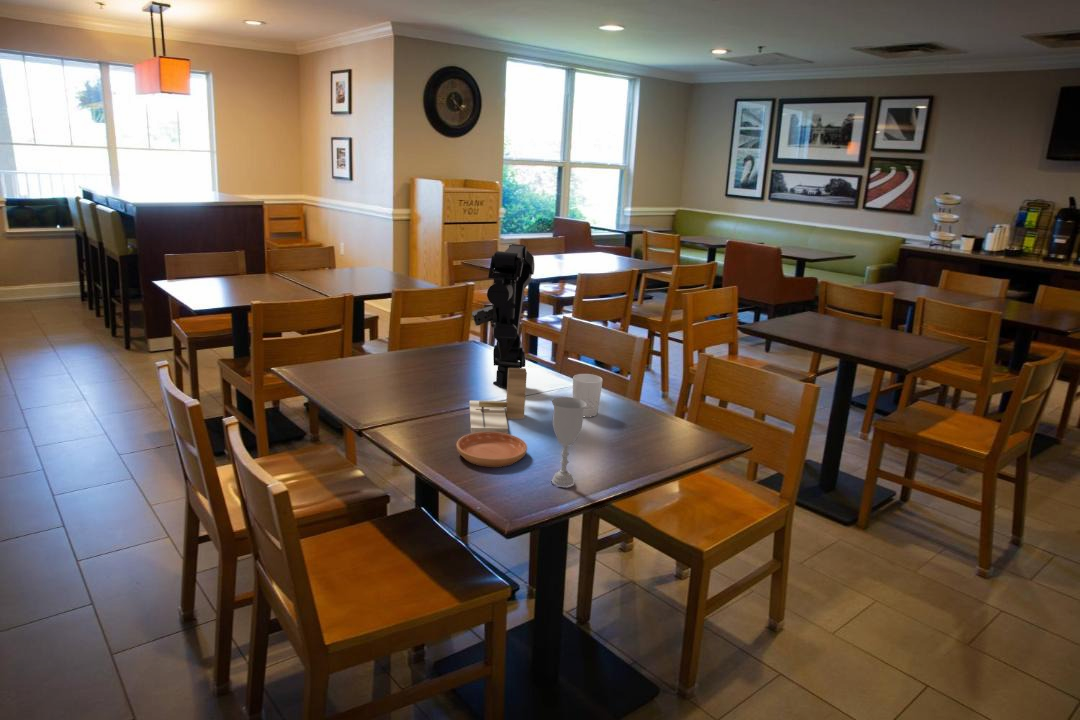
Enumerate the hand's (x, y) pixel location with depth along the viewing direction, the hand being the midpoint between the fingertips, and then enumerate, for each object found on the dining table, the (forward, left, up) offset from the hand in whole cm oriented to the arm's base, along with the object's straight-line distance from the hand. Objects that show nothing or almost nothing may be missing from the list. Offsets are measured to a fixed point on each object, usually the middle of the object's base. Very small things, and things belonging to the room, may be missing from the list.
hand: (501, 354), depth 197 cm
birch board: (+13, +9, -13) cm, 21 cm away
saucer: (+28, +27, -14) cm, 41 cm away
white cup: (-11, +22, -13) cm, 28 cm away
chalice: (+26, +47, -13) cm, 55 cm away
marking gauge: (+8, +10, -13) cm, 18 cm away
